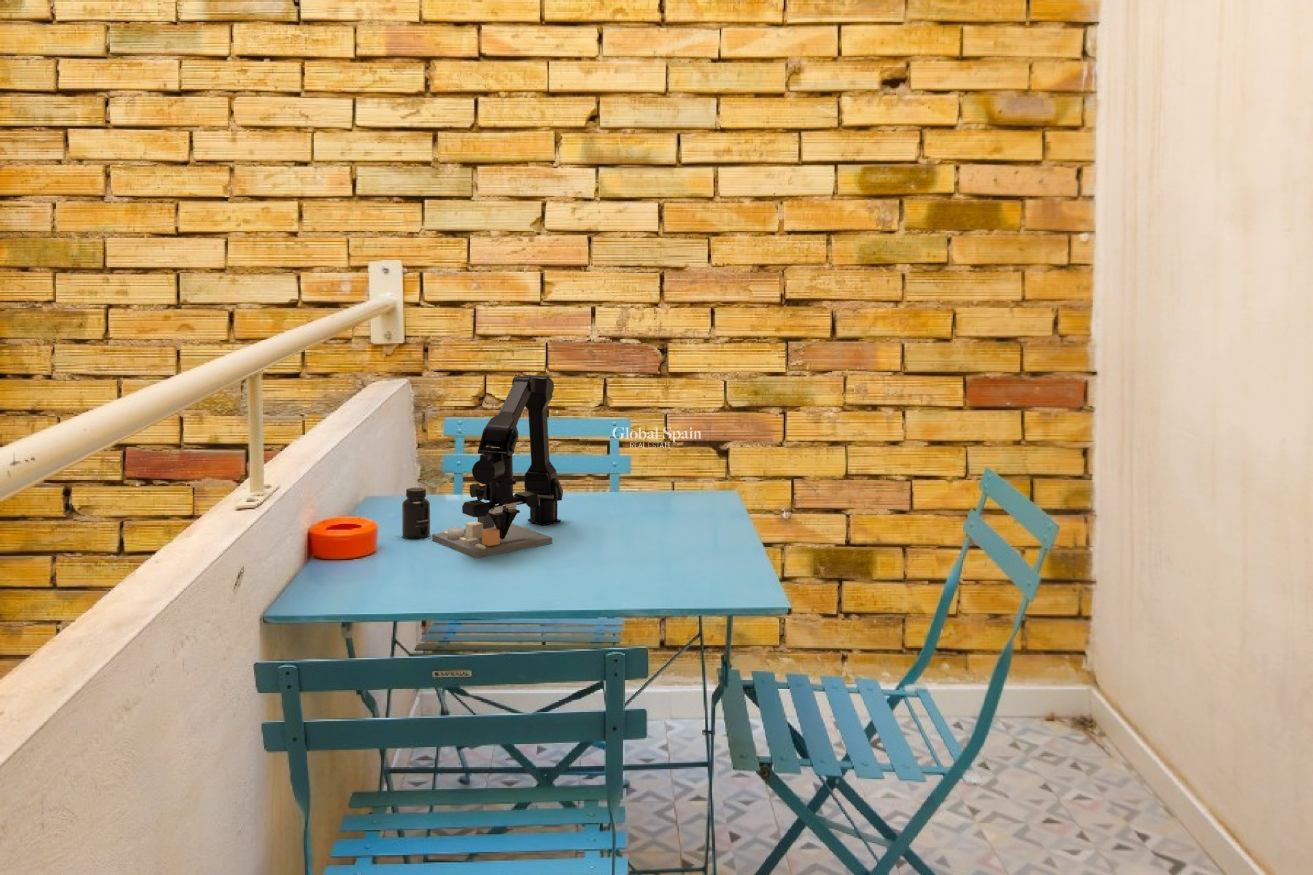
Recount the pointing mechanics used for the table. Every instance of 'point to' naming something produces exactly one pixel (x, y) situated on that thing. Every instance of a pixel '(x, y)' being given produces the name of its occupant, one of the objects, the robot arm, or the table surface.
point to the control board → (474, 547)
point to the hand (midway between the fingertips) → (502, 538)
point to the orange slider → (490, 536)
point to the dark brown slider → (486, 521)
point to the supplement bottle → (416, 514)
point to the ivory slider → (474, 530)
